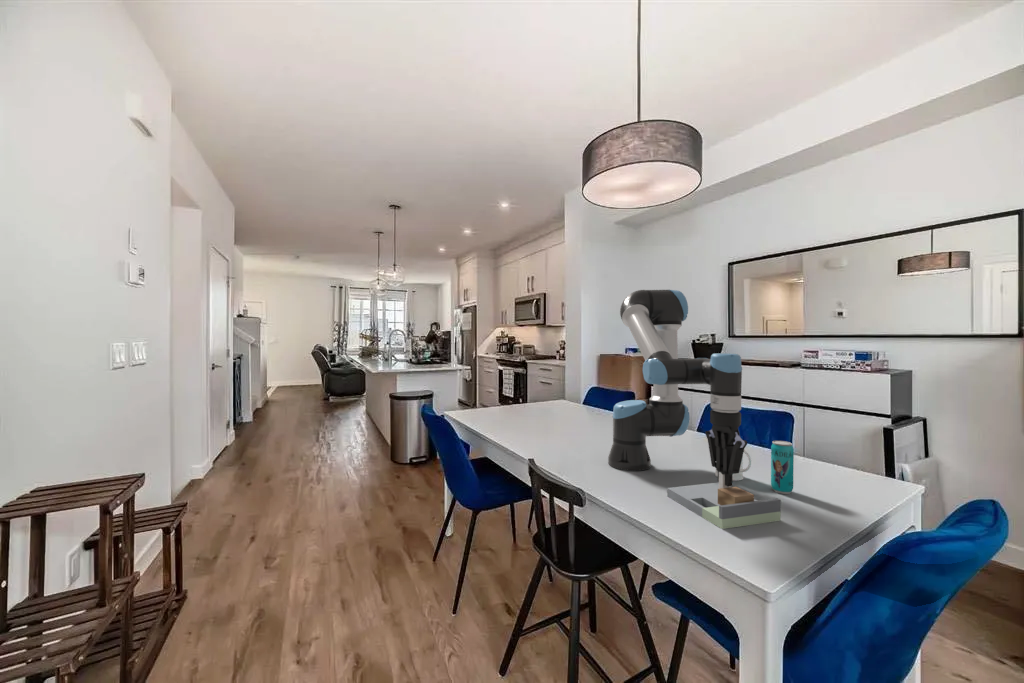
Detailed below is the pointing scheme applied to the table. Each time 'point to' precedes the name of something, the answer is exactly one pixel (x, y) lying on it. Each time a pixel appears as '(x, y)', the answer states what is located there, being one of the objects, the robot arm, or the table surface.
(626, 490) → the table surface
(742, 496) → the block
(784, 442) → the beverage can
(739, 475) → the mug
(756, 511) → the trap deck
